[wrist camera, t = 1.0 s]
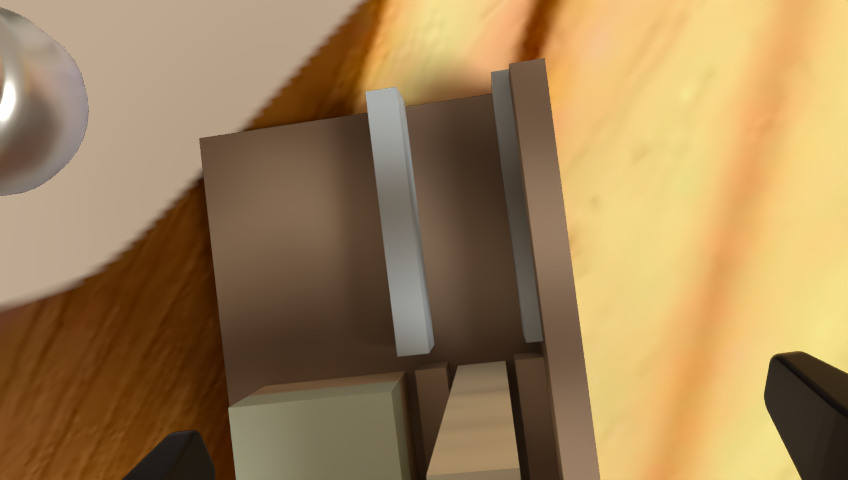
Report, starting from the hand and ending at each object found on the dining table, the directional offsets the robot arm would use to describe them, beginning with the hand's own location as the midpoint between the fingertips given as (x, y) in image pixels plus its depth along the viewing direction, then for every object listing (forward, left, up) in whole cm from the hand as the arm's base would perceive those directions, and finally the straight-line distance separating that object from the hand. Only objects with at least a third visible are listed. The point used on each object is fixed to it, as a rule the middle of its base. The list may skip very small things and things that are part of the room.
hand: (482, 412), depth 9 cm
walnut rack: (-1, +3, -12) cm, 12 cm away
